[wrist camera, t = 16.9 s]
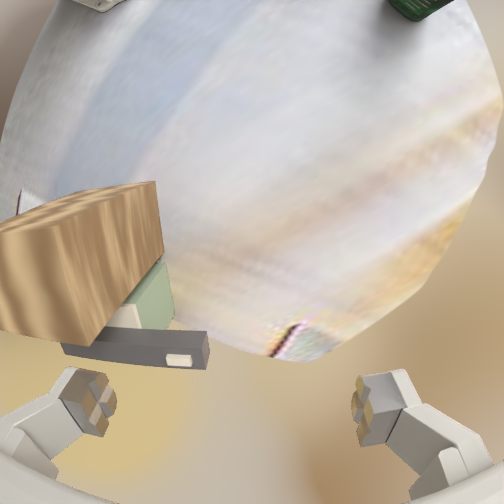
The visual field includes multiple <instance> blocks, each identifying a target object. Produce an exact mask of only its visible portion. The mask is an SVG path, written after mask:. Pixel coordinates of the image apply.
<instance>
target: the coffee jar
mask: <svg viewBox="0 0 504 504" xmlns="http://www.w3.org/2000/svg"><path fill="white" fill-rule="evenodd" d="M389 1H390V3H391V4H392V5H393V6H394V7H395V8H396V9H397V10H398V11H399V12H400V13H401V14H403V15H404V16H405V17H407V18H409V19H411V20H413V21H421V20H423V19H424V18H426V17H427V16H429V15H431V14H432V13H434V12H435V11H437V10H438V9H440V8H442V7H443V6H445V5H447V4H448V3H450V2H452V1H454V0H389Z"/></svg>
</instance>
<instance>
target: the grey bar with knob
mask: <svg viewBox="0 0 504 504" xmlns="http://www.w3.org/2000/svg"><path fill="white" fill-rule="evenodd" d="M60 343H61V346H62V348H63V350H64V353H65V354H66V355H72V356H78V357H83V358H89V359H96V360H103V361H110V362H117V363H126V364H134V365H144V366H154V367H167V368H181V369H202V370H206V366H207V362H208V358H209V354H210V349H209V343H208V337H207V331H181V330H156V329H137V328H122V327H109V326H104V327H103V329H102V330H101V331H100V333H99V334H98V335H97V337H96V338H95V340H94V341H93V342H92V344H91V345H90V346H89V347H88V346H81V345H75V344H68V343H62V342H60Z"/></svg>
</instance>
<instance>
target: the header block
mask: <svg viewBox="0 0 504 504" xmlns="http://www.w3.org/2000/svg"><path fill="white" fill-rule="evenodd" d="M174 314H175V309H174V304H173V299H172V294H171V288H170V283H169V277H168V272H167V266H166V263H154V265H153V266H152V267H151V268H150V269H149V271H148V272H147V273H146V274H145V275H144V277H143V278H142V279H141V280H140V282H139V283H138V284H137V285H136V287H135V288H134V289H133V290H132V292H131V293H130V294H129V295H128V297H127V298H126V299H125V300H124V302H123V303H122V304H121V305H120V307H119V308H118V309H117V311H116V312H115V313H114V314H113V316H112V317H111V318H110V320H109V321H108V322H107V324H106V325H105V326H109V327H122V328H137V329H156V330H167V328H168V326H169V324H170V322H171V320H172V318H173V316H174Z"/></svg>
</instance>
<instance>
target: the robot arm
mask: <svg viewBox="0 0 504 504" xmlns="http://www.w3.org/2000/svg"><path fill="white" fill-rule="evenodd" d="M73 1H75V2H78V3H80V4H83V5H85V6H88V7H90V8H93V9H95V10H97V11H100V12H105V11H107V10H109V9H110V8H112V7H113V6H114V5H116V4H117V3H119V2H121V1H124V0H73ZM100 4H101V5H100ZM99 5H100V6H99ZM108 382H109V380H108V378H107V376H106V374H104V373H101V372H96V371H91V370H86V369H81V368H76V367H71V366H69V367H67V368H66V369H65V370H64V371H63V373H62V374H61V375H60V377H59V378H58V380H57V381H56V383H55V384H54V385H53V387H52V388H51V390H50V391H49V392H48V394H47V395H45V394H43V395H41V396H40V397H38V398H36V399H34V400H32V401H30V402H28V403H27V404H25V405H23V406H21V407H19V408H17V409H15V410H13V411H12V412H10V413H8V414H6V415H4V416H2V417H0V504H119V503H115V502H112V501H109V500H106V499H103V498H99V497H96V496H94V495H91V494H88V493H85V492H83V491H80V490H78V489H75V488H73V487H70V486H68V485H65V484H63V483H61V482H58V481H56V480H55V479H56V477H57V475H58V472H59V470H58V468H57V467H56V466H55V465H54V464H53V463H52V462H51V461H50V460H51V459H53V458H54V457H55V456H57V455H58V454H59V453H60V452H62V451H63V450H64V449H65V448H66V447H68V446H69V445H70V444H72V443H73V442H74V441H75V440H77V439H78V438H79V437H80V436H82V435H83V433H87V434H91V435H95V436H99V437H103V436H104V434H105V432H106V429H107V427H108V425H109V421H108V418H109V417H110V416H112V415H113V414H114V412H115V409H116V404H117V399H116V394H115V392H114V390H113V389H112V388H111V387H110V386H108ZM356 388H357V391H356V392H354V393H353V397H352V404H351V405H352V406H351V409H352V416H353V420H354V421H355V422H356V423H358V424H359V425H358V428H357V431H356V432H357V436H358V440H359V444H360V447H365V446H371V445H377V444H383V443H386V445H387V446H388V447H389V448H390V449H391V450H392V451H393V452H394V453H396V454H397V455H398V456H399V457H400V458H401V459H402V460H403V461H404V462H405V463H407V464H408V465H409V466H410V467H411V468H412V469H413V470H414V471H415V472H417V473H418V474H419V475H420V477H419V478H418V479H417V480H416V481H415V483H414V484H413V485H412V486H411V487H410V489H409V493H410V497H411V501H408V502H405V503H402V504H504V460H503V461H501V462H499V463H497V464H495V465H494V464H493V462H492V460H491V458H490V456H489V453H488V451H487V449H486V447H485V445H484V443H483V441H482V439H481V437H480V436H479V434H477V433H475V432H473V431H472V430H470V429H468V428H467V427H465V426H463V425H462V424H460V423H458V422H456V421H455V420H453V419H451V418H450V417H448V416H446V415H445V414H443V413H441V412H440V411H438V410H437V409H435V408H433V407H431V406H430V405H428V404H427V403H425V404H422V402H421V400H420V398H419V396H418V394H417V392H416V390H415V388H414V386H413V384H412V382H411V380H410V378H409V376H408V374H407V372H406V371H405V370H404V369H398V370H392V371H386V372H380V373H374V374H367V375H360V376H358V378H357V380H356Z"/></svg>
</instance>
